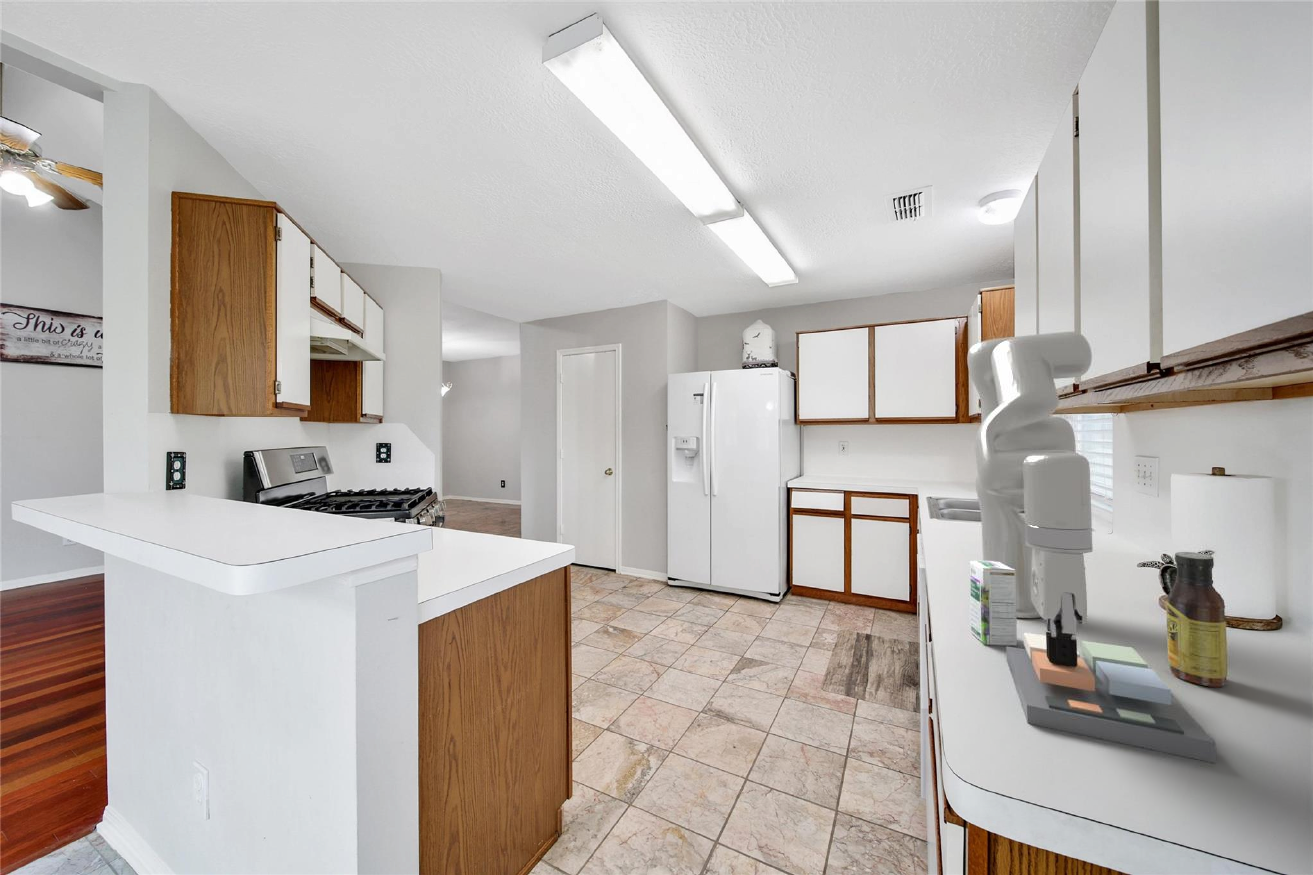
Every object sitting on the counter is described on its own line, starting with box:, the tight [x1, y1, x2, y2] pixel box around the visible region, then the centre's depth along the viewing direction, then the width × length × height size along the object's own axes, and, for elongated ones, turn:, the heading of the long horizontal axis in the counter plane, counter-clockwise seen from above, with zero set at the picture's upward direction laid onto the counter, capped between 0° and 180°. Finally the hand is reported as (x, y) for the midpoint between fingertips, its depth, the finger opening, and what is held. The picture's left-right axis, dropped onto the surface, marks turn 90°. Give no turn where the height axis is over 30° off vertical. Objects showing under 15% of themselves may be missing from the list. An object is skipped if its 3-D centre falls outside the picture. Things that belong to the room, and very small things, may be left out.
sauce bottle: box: [1165, 551, 1228, 688], centre depth 75 cm, size 7×6×20 cm
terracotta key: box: [1032, 651, 1095, 691], centre depth 70 cm, size 6×6×2 cm
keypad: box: [1005, 645, 1217, 764], centre depth 70 cm, size 20×18×3 cm
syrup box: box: [969, 560, 1018, 647], centre depth 92 cm, size 6×6×14 cm
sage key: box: [1081, 640, 1149, 670], centre depth 73 cm, size 6×6×2 cm
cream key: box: [1023, 632, 1081, 660], centre depth 77 cm, size 6×6×2 cm
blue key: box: [1096, 661, 1172, 705], centre depth 66 cm, size 6×6×2 cm
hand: (1061, 662), depth 70 cm, fingers closed
